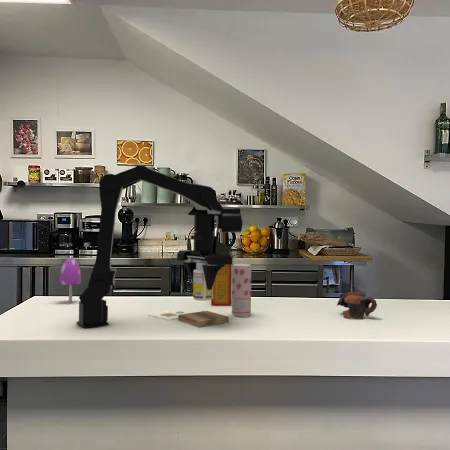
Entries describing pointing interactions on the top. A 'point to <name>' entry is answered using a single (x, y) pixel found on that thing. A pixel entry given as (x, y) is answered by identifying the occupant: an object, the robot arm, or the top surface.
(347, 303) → the pottery mug
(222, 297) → the baking soda box
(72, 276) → the toy
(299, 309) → the top surface
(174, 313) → the page
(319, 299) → the top surface
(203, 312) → the base brick
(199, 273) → the supplement bottle
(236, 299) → the beverage can
